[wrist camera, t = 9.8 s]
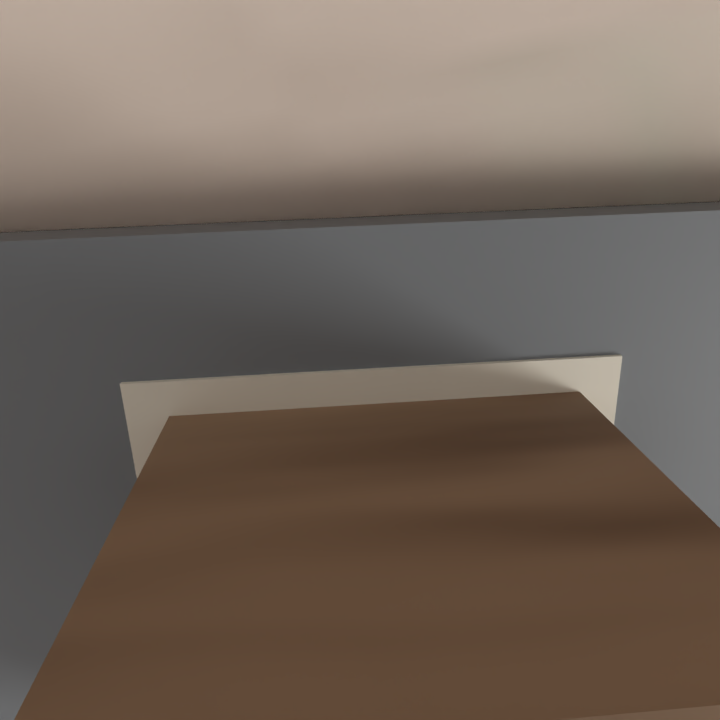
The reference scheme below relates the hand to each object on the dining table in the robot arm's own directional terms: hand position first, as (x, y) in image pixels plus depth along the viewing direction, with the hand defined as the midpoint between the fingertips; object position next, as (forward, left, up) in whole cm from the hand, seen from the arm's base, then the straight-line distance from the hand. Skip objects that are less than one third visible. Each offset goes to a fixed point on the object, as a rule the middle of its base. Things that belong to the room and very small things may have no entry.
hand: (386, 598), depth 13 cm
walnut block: (0, 0, -1) cm, 1 cm away
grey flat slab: (0, 0, -2) cm, 2 cm away
